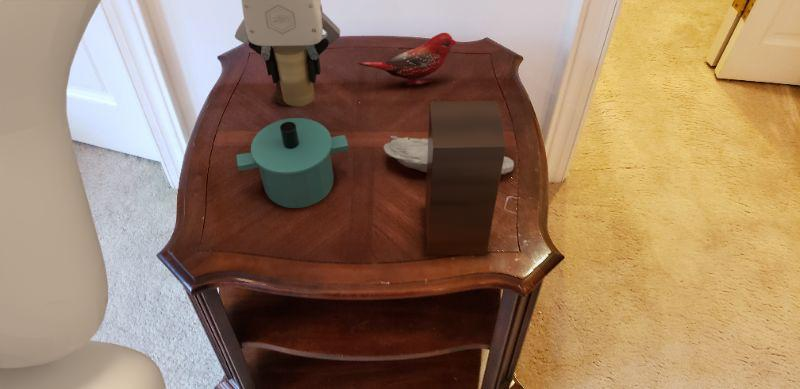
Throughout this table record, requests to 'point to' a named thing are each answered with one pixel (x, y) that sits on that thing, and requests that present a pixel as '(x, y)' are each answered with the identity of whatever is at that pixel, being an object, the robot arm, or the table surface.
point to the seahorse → (421, 153)
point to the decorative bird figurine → (417, 60)
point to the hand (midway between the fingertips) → (295, 76)
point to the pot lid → (291, 146)
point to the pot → (297, 179)
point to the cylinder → (294, 74)
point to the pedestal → (462, 176)
